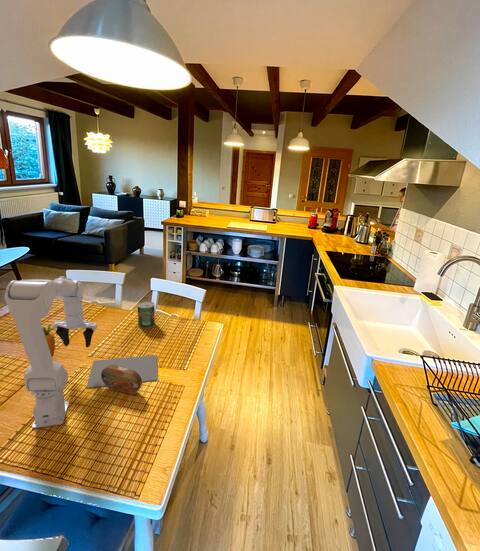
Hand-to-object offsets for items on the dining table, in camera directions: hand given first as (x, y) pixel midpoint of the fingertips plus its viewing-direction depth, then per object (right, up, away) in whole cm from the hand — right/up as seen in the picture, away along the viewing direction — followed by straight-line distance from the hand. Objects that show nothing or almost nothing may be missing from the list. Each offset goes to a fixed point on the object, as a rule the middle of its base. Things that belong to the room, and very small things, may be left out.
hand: (77, 345), depth 114 cm
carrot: (-14, -7, +7) cm, 17 cm away
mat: (+16, -10, +4) cm, 19 cm away
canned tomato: (+14, +2, +38) cm, 40 cm away
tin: (+19, -14, -6) cm, 24 cm away
